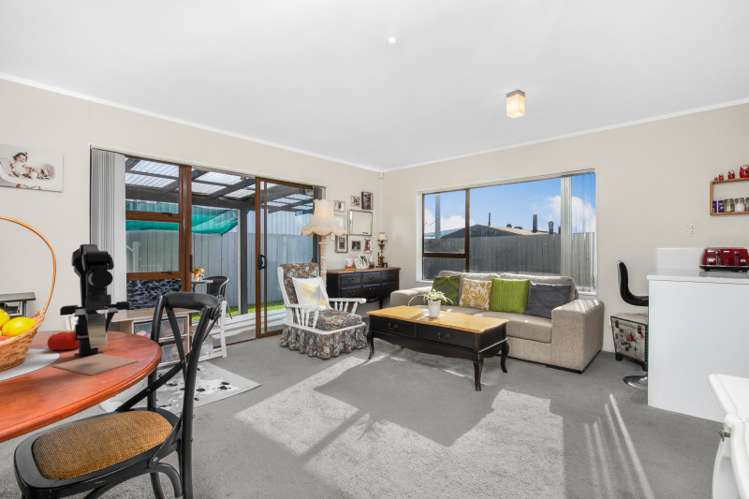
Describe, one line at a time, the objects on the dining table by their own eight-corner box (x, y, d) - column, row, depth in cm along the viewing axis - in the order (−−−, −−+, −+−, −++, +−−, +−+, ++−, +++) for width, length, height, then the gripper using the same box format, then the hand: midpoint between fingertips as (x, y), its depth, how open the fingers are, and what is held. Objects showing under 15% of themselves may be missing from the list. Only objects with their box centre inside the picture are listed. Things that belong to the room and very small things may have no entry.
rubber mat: (52, 366, 123) (52, 365, 123) (100, 354, 137) (100, 353, 137) (91, 375, 115) (91, 374, 115) (138, 361, 129) (138, 360, 129)
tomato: (54, 347, 147) (54, 331, 147) (87, 344, 150) (87, 329, 150) (42, 353, 137) (42, 336, 137) (77, 351, 141) (77, 334, 141)
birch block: (91, 337, 128) (88, 314, 121) (107, 336, 131) (105, 313, 124) (90, 348, 125) (87, 325, 118) (106, 346, 128) (104, 323, 121)
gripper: (56, 290, 112) (56, 340, 112) (128, 285, 122) (129, 332, 122) (63, 289, 122) (63, 336, 121) (130, 285, 132) (130, 328, 131)
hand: (97, 333), depth 123 cm, fingers closed on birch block, 4 cm apart
